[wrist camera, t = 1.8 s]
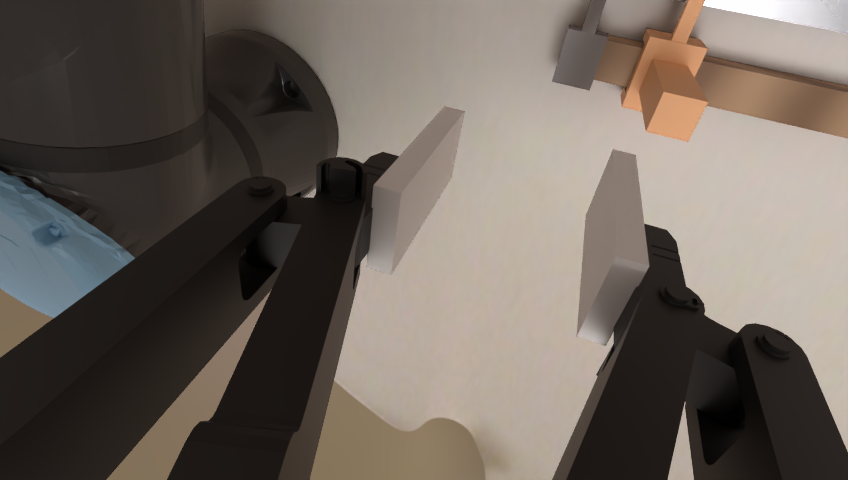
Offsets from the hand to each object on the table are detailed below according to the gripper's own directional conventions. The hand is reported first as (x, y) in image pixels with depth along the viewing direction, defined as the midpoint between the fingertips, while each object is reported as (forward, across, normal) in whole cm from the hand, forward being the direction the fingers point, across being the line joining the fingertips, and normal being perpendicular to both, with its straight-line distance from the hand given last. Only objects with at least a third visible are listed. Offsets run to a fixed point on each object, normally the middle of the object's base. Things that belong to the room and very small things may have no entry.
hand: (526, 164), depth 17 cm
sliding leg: (+18, +6, +3) cm, 19 cm away
